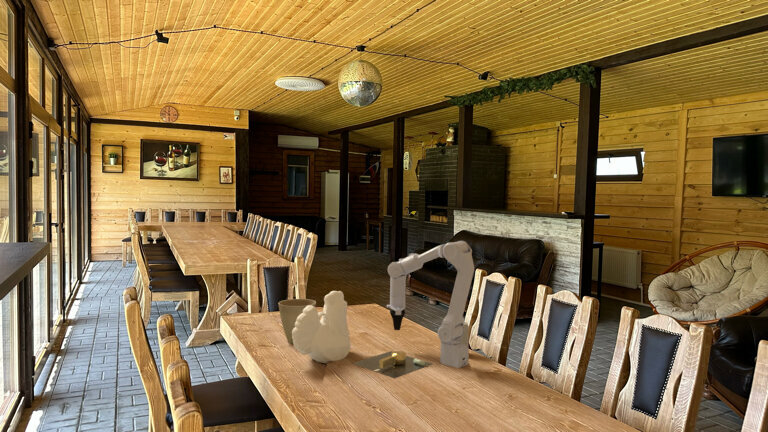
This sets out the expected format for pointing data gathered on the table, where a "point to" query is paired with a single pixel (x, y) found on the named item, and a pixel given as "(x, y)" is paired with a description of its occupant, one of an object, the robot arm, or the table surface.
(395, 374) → the base plate
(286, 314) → the plant pot
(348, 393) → the table surface
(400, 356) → the brass door handle
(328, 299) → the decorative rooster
